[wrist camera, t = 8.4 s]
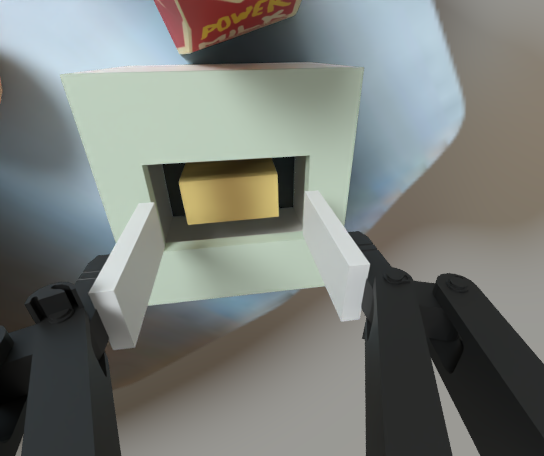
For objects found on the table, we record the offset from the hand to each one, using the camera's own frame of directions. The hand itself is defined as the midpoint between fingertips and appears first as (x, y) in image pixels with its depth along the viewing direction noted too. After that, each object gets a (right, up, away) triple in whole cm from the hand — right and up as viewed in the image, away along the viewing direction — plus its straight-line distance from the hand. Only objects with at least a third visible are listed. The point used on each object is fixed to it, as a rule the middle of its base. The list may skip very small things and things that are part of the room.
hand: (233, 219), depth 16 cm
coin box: (-2, +6, +11) cm, 13 cm away
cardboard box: (-1, +4, +8) cm, 9 cm away
